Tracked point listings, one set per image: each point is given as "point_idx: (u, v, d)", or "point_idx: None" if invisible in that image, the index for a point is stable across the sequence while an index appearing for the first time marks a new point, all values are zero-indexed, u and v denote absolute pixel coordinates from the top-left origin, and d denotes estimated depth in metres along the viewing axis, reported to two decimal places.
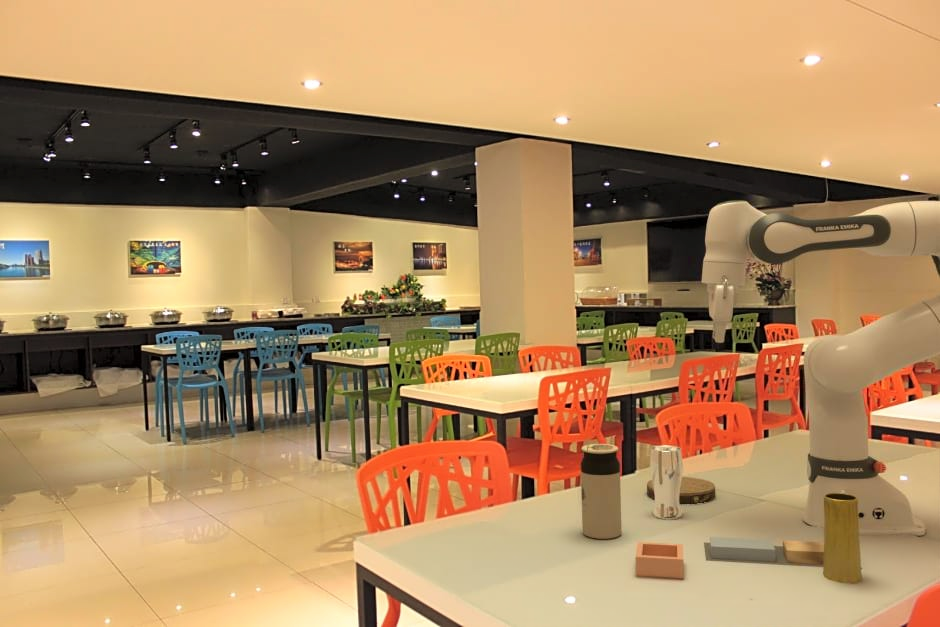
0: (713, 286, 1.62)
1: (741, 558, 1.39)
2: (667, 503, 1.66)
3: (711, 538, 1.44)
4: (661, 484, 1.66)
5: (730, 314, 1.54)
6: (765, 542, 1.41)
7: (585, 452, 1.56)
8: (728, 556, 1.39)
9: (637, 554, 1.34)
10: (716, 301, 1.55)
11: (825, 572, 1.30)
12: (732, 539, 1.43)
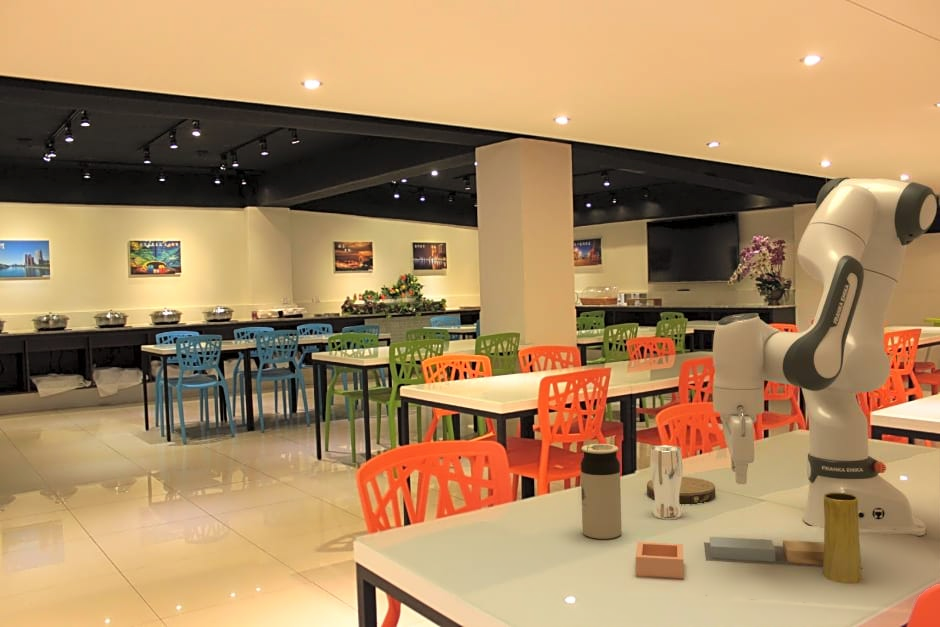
0: (727, 416, 1.39)
1: (741, 558, 1.39)
2: (667, 503, 1.66)
3: (711, 538, 1.44)
4: (661, 484, 1.66)
5: (752, 455, 1.31)
6: (765, 542, 1.41)
7: (585, 452, 1.56)
8: (728, 556, 1.39)
9: (637, 554, 1.34)
10: (734, 440, 1.32)
11: (825, 572, 1.30)
12: (732, 539, 1.43)
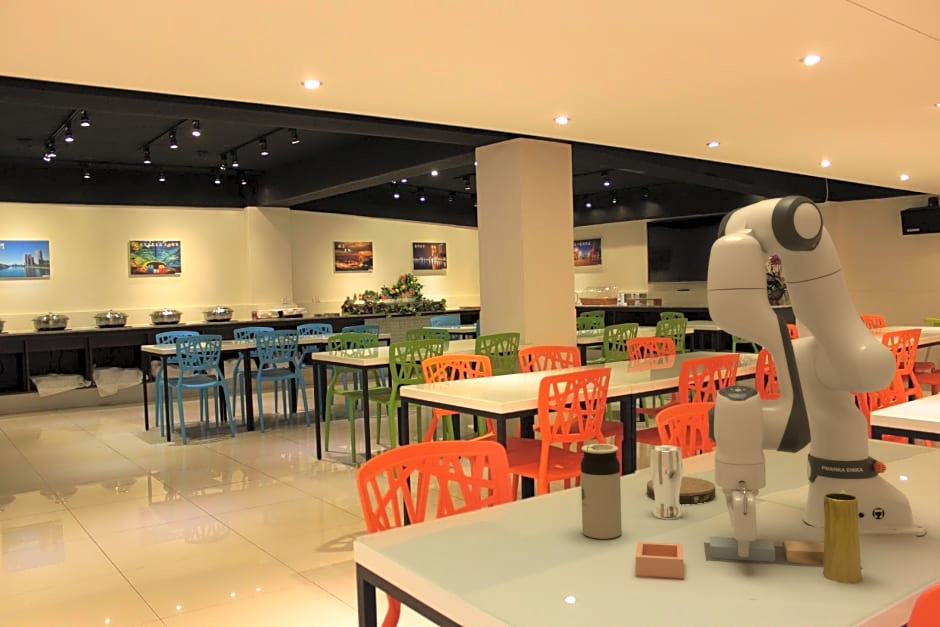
0: (729, 490, 1.39)
1: (741, 558, 1.39)
2: (667, 503, 1.66)
3: (711, 538, 1.44)
4: (661, 484, 1.66)
5: (754, 533, 1.31)
6: (765, 542, 1.41)
7: (585, 452, 1.56)
8: (728, 556, 1.39)
9: (637, 554, 1.34)
10: (736, 518, 1.32)
11: (825, 572, 1.30)
12: (732, 539, 1.43)
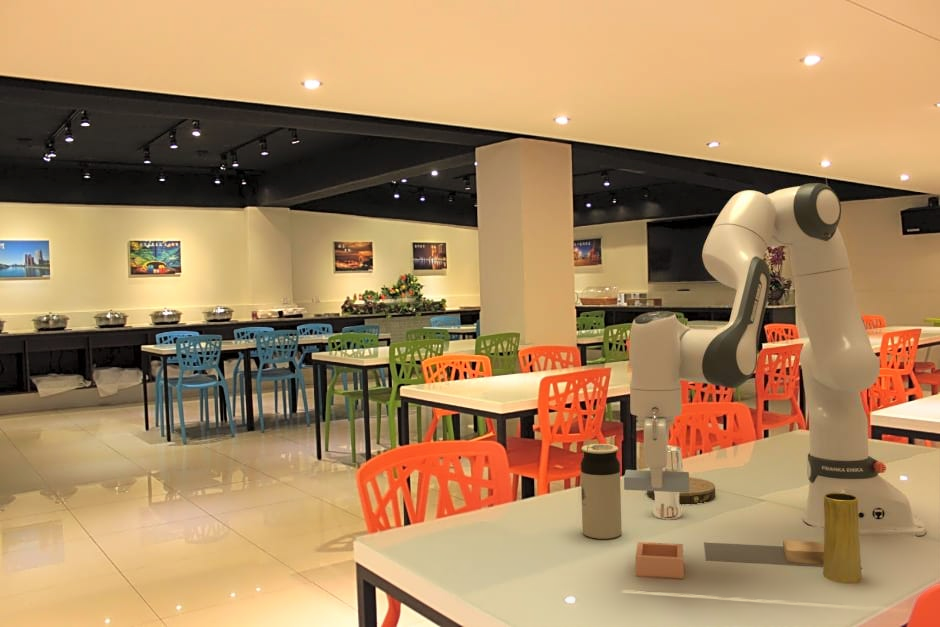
0: (644, 418, 1.33)
1: (654, 489, 1.33)
2: (667, 503, 1.66)
3: (627, 471, 1.38)
4: None
5: (664, 459, 1.25)
6: (681, 474, 1.35)
7: (585, 452, 1.56)
8: (641, 487, 1.33)
9: (637, 554, 1.34)
10: (645, 444, 1.26)
11: (825, 572, 1.30)
12: (648, 472, 1.37)
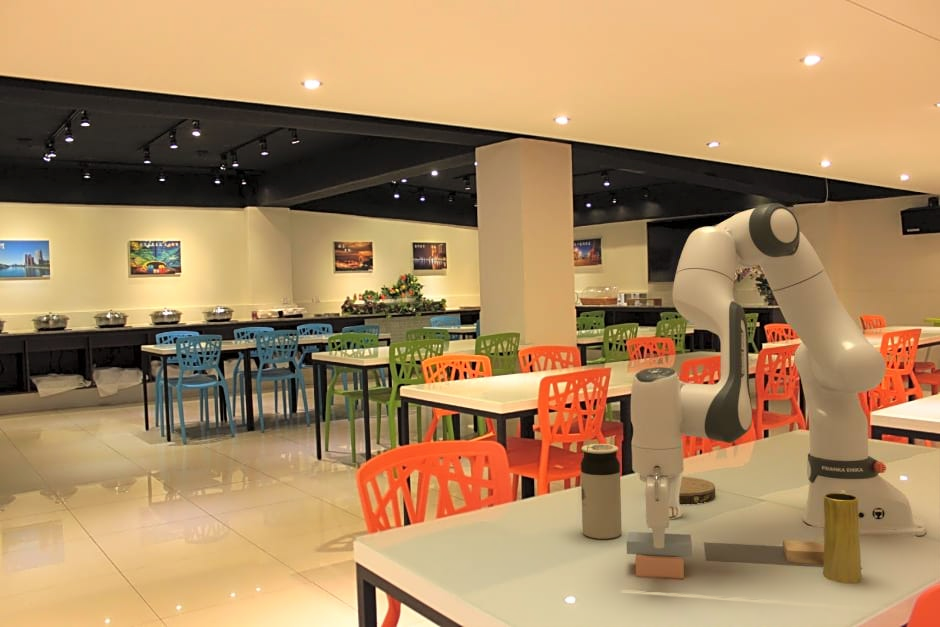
0: (645, 476, 1.33)
1: (657, 554, 1.33)
2: None
3: (629, 533, 1.38)
4: None
5: (666, 520, 1.25)
6: (683, 537, 1.35)
7: (585, 452, 1.56)
8: (644, 551, 1.33)
9: (637, 554, 1.34)
10: (647, 504, 1.26)
11: (825, 572, 1.30)
12: (650, 534, 1.37)
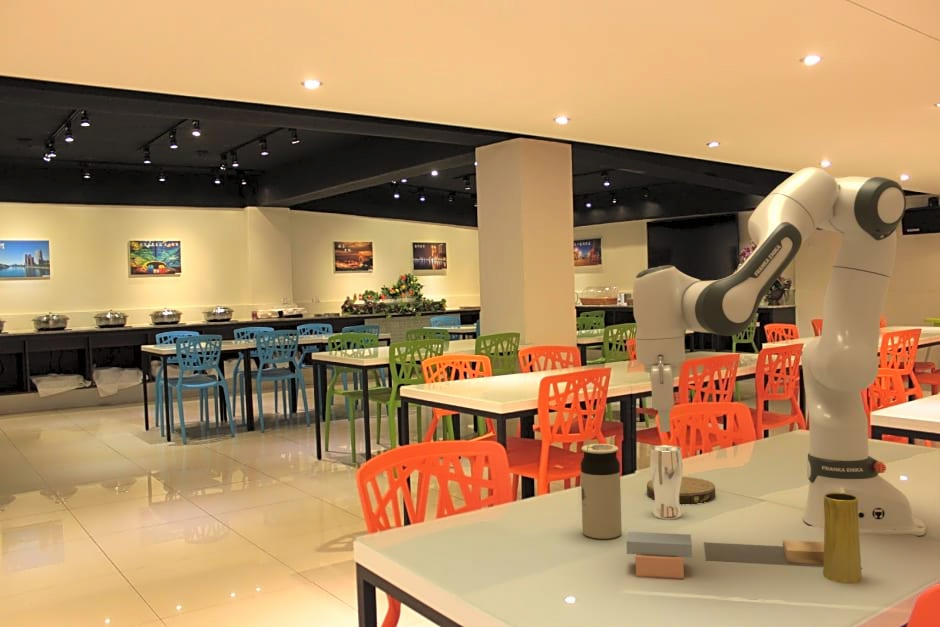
0: (650, 366, 1.41)
1: (657, 554, 1.33)
2: (667, 503, 1.66)
3: (629, 533, 1.38)
4: (661, 484, 1.66)
5: (671, 401, 1.33)
6: (683, 537, 1.35)
7: (585, 452, 1.56)
8: (644, 551, 1.33)
9: (637, 554, 1.34)
10: (653, 388, 1.34)
11: (825, 572, 1.30)
12: (650, 534, 1.37)
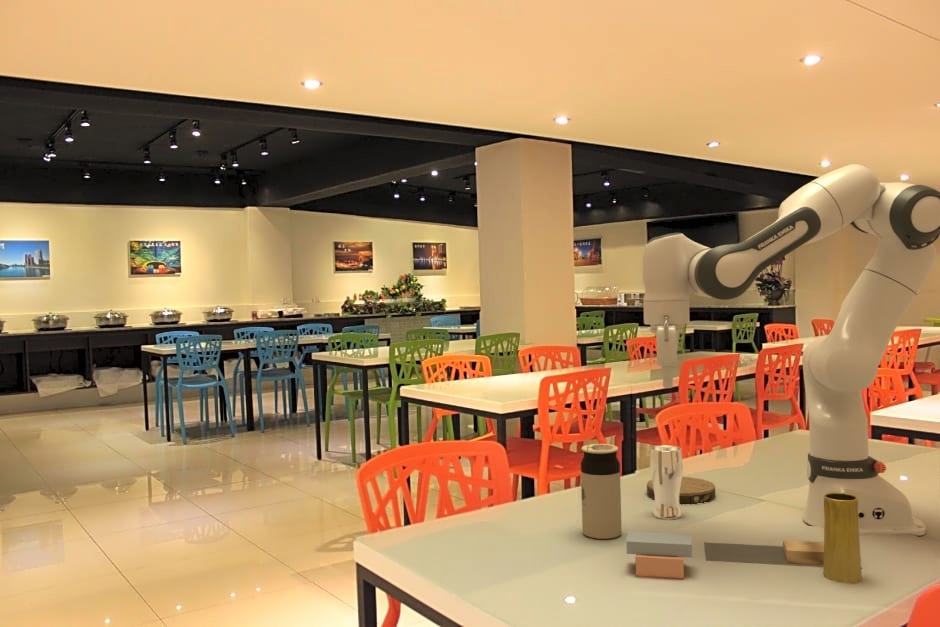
0: (656, 327, 1.50)
1: (657, 554, 1.33)
2: (667, 503, 1.66)
3: (629, 533, 1.38)
4: (661, 484, 1.66)
5: (674, 358, 1.42)
6: (683, 537, 1.35)
7: (585, 452, 1.56)
8: (644, 551, 1.33)
9: (637, 554, 1.34)
10: (658, 345, 1.43)
11: (825, 572, 1.30)
12: (650, 534, 1.37)
